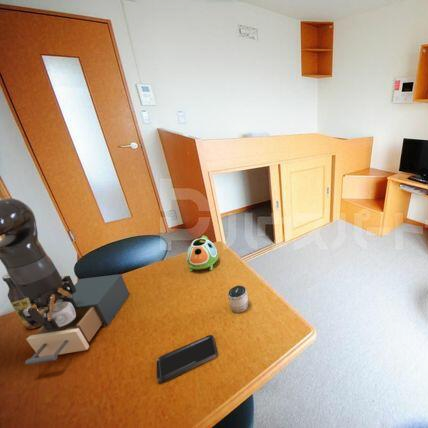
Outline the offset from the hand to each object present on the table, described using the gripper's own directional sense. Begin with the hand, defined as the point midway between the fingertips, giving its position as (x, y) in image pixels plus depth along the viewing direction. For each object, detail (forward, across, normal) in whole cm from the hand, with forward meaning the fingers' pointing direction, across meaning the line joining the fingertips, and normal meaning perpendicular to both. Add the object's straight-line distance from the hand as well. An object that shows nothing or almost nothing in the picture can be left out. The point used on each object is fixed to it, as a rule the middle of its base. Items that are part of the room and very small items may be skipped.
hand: (63, 318), depth 69 cm
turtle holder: (+10, -34, +30) cm, 47 cm away
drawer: (+9, +1, 0) cm, 9 cm away
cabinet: (+9, -12, 0) cm, 15 cm away
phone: (+9, +14, +35) cm, 39 cm away
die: (+1, 0, 0) cm, 1 cm away
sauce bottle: (+10, -10, -16) cm, 21 cm away
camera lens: (+10, -4, +48) cm, 49 cm away
